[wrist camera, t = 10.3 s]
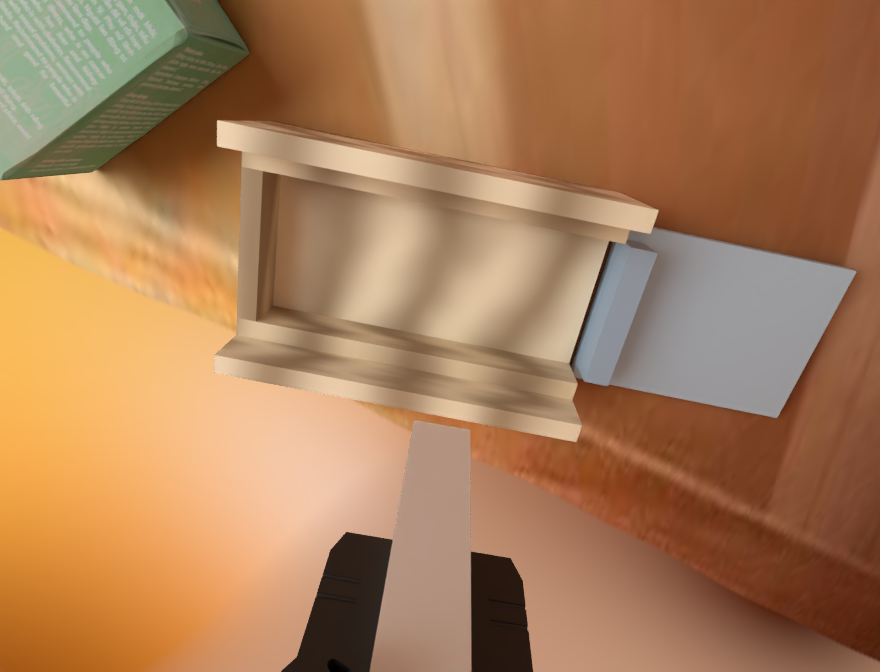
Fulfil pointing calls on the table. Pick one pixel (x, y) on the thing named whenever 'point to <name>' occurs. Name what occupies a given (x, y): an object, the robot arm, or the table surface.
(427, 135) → the table surface
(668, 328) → the cover plate
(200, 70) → the box
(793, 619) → the table surface
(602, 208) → the case
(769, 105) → the table surface
